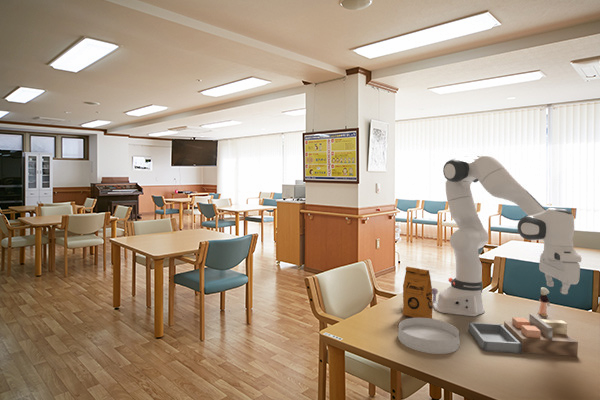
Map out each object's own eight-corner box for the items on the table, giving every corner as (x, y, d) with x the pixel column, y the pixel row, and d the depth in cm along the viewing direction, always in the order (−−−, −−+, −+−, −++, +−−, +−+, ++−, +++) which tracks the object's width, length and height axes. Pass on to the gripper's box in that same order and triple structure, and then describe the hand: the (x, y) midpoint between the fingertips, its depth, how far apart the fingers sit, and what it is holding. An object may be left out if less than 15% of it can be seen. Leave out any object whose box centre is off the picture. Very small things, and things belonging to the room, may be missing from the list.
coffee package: (425, 324, 157) (426, 272, 155) (399, 316, 165) (400, 267, 164) (436, 318, 163) (437, 268, 162) (410, 310, 172) (411, 264, 171)
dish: (429, 360, 126) (429, 345, 126) (385, 335, 145) (386, 323, 145) (473, 346, 136) (473, 333, 136) (427, 325, 156) (427, 314, 155)
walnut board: (521, 352, 131) (522, 338, 131) (503, 333, 147) (504, 321, 147) (577, 356, 129) (578, 342, 128) (553, 336, 144) (553, 324, 144)
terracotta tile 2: (517, 328, 140) (517, 321, 140) (512, 323, 145) (512, 317, 145) (529, 328, 140) (530, 322, 139) (524, 324, 144) (524, 317, 144)
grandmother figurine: (533, 312, 172) (534, 285, 171) (540, 311, 172) (542, 285, 171) (545, 318, 164) (546, 290, 163) (553, 318, 164) (554, 290, 164)
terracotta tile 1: (526, 336, 132) (527, 330, 132) (521, 331, 137) (521, 325, 137) (540, 337, 132) (540, 330, 132) (534, 332, 136) (534, 325, 136)
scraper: (547, 339, 131) (548, 327, 130) (529, 323, 144) (529, 313, 144) (575, 340, 129) (576, 329, 129) (554, 325, 143) (554, 315, 143)
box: (483, 350, 132) (483, 341, 132) (468, 330, 150) (468, 322, 150) (521, 353, 130) (521, 343, 130) (501, 332, 148) (501, 324, 148)
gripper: (535, 247, 146) (533, 281, 147) (564, 257, 126) (562, 297, 126) (552, 247, 145) (551, 282, 146) (584, 258, 125) (582, 298, 125)
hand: (556, 289), depth 136 cm, fingers open, 8 cm apart
